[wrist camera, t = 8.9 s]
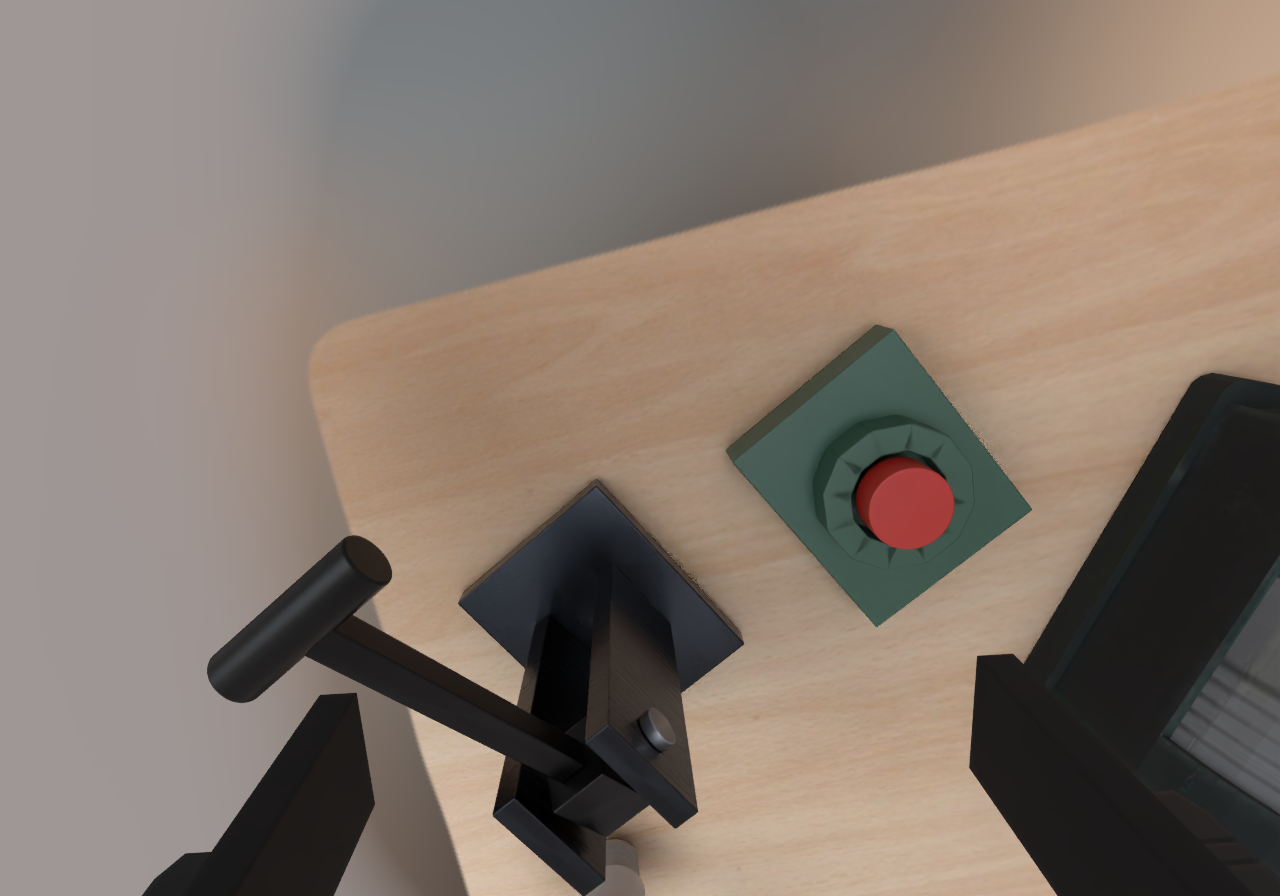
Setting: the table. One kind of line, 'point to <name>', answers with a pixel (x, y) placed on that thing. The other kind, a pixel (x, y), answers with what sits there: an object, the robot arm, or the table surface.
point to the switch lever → (412, 682)
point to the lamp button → (905, 503)
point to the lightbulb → (620, 871)
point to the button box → (851, 445)
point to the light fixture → (1188, 615)
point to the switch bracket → (600, 665)
